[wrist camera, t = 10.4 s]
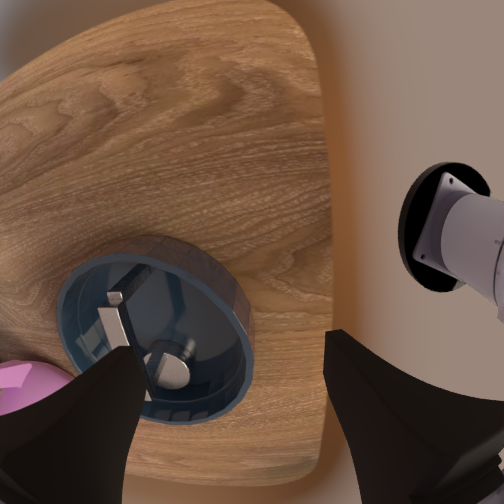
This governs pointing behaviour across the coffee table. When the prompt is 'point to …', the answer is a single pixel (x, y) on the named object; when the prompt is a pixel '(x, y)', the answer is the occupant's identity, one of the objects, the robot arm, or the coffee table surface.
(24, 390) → the teapot
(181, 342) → the bowl
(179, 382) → the disc with bar handle
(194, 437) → the coffee table surface
